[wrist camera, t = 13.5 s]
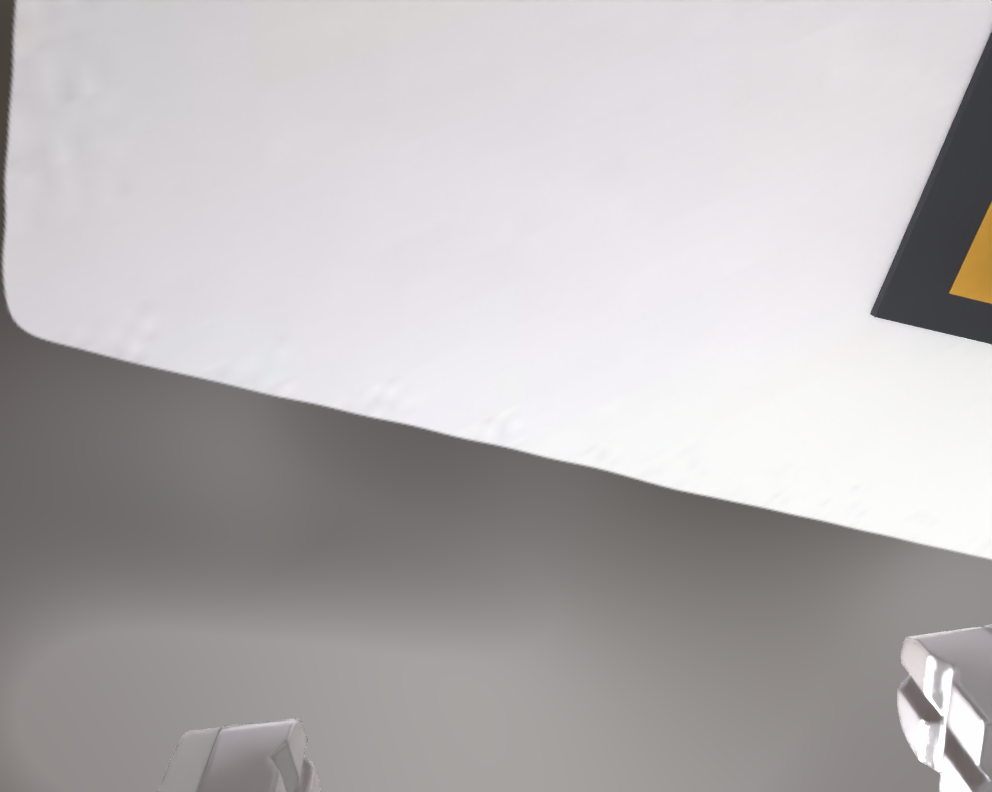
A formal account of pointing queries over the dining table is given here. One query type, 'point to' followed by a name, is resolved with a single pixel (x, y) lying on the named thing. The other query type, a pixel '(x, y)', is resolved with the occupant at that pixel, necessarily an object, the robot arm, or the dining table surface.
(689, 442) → the dining table surface
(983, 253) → the mat
